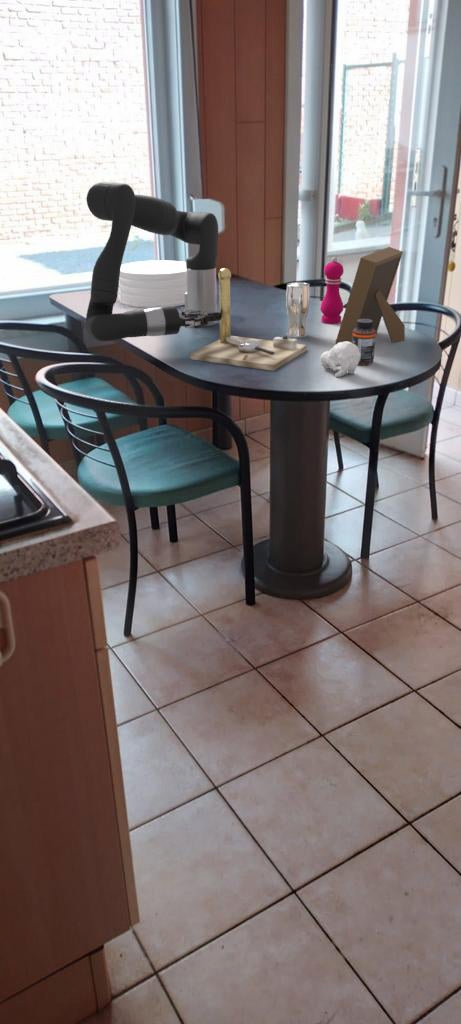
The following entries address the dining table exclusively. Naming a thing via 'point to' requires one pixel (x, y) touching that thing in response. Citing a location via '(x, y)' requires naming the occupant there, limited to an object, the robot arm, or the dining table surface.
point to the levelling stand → (231, 355)
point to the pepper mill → (332, 293)
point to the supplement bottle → (364, 340)
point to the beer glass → (297, 308)
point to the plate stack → (153, 283)
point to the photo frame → (373, 295)
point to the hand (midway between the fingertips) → (219, 315)
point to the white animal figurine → (341, 358)
